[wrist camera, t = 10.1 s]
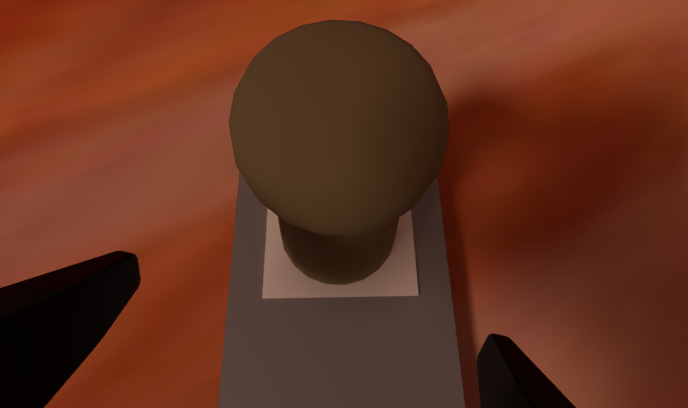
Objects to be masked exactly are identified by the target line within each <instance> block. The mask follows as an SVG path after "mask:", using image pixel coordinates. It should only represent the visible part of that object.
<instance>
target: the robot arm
mask: <svg viewBox="0 0 688 408" xmlns="http://www.w3.org/2000/svg"><path fill="white" fill-rule="evenodd" d="M140 280H141V277H140V271H139V264H138V258H137V256H136V255H135V254H133V253H129V252H125V251H115V252H112V253H109V254H106V255H102V256H99V257H96V258H93V259H90V260H87V261H84V262H81V263H77V264H74V265H71V266H68V267H65V268H62V269H59V270H55V271H52V272H49V273H46V274H43V275H40V276H37V277H34V278H30V279H27V280H24V281H21V282H18V283H15V284H12V285H8V286H5V287H2V288H0V408H44V407H45V406H46V405H47V403H48V402H49V401H50V400H51V399H52V398H53V396H54V395H55V394H56V393H57V392H58V391H59V389H60V388H61V387H62V386H63V385H64V383H65V382H66V381H67V380H68V379H69V378H70V376H71V375H72V374H73V373H74V372H75V371H76V369H77V368H78V367H79V366H80V365H81V364H82V362H83V361H84V360H85V359H86V358H87V356H88V355H89V354H90V353H91V352H92V351H93V349H94V348H95V347H96V346H97V344H98V343H99V342H100V341H101V339H102V338H103V337H104V335H105V334H106V333H107V331H108V330H109V328H110V327H111V326H112V324H113V323H114V321H115V320H116V318H117V317H118V316H119V314H120V313H121V311H122V310H123V309H124V307H125V306H126V304H127V303H128V301H129V300H130V299H131V297H132V296H133V294H134V293H135V292H136V290H137V289H138V287H139V284H140ZM477 374H478V384H479V394H480V404H481V408H576V407H575V406H574V405H573V404H572V403H571V402H570V401H569V400H568V399H567V398H566V397H565V396H564V395H563V394H562V393H561V391H560V390H559V389H558V388H557V387H556V386H555V385H554V384H553V383H552V382H551V381H550V380H549V379H548V378H547V377H546V376H545V375H544V374H543V373H542V371H541V370H540V369H539V368H538V367H537V366H536V365H535V364H534V363H533V362H532V361H531V360H530V359H529V358H528V357H527V356H526V355H525V354H524V353H523V351H522V350H521V349H520V348H519V347H518V346H517V345H516V344H515V343H514V342H513V341H512V340H511V339H510V338H509V337H507V336H503V335H498V334H494V333H493V334H490V335H488V337H487V339H486V341H485V343H484V345H483V346H482V348H481V350H480V352H479V354H478V357H477Z"/></svg>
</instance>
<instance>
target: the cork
mask: <svg viewBox="0 0 688 408" xmlns="http://www.w3.org/2000/svg"><path fill="white" fill-rule="evenodd" d="M229 127H230V135H231V140H232V146H233V151H234V156H235V161H236V166H237V168H238V169H239V171H240V172H241V174H242V176H243V177H244V179H245V180H246V182H247V184H248V185H249V187H250V189H251V190H252V192H253V193H254V195H255V196H256V197H257V199H258V200H259V201H260V202H261V203H262V204H263V205H264V206H266V207H267V208H268V209H269V210H271V211H272V212H273V213H274V214H276V215H277V216H278V221H279V228H280V234H281V238H282V242H283V247H284V250H285V252H286V254H287V255H288V257H289V258H290V260H291V262H292V263H293V265H294V266H295V267H296V268H298V269H299V270H300V271H301V272H302V273H304V274H305V275H306V276H307V277H309V278H311V279H314V280H317V281H319V282H322V283H324V284H334V285H347V284H350V283H354V282H357V281H361V280H364V279H365V278H367V277H368V276H370V275H371V274H373V273H374V272H376V271H377V270H378V269H380V267H381V266H382V265H383V263H384V262H385V261H386V259H387V258H388V257H389V255H390V253H391V250H392V247H393V244H394V241H395V238H396V233H397V228H398V222H399V217H401V216H402V215H404V214H405V213H407V212H408V211H410V210H411V209H413V207H414V206H415V205H416V204H417V202H418V201H419V200H420V198H421V197H422V196H423V194H424V193H425V192H426V190H427V189H428V188H429V186H430V185H431V184H432V183H433V181H434V180H435V179H436V177H437V176H438V174H439V171H440V168H441V164H442V161H443V158H444V154H445V151H446V148H447V143H448V137H449V123H448V109H447V102H446V99H445V97H444V95H443V93H442V90H441V88H440V86H439V84H438V81H437V79H436V77H435V75H434V73H433V70H432V68H431V66H430V65H429V63H428V62H427V61H426V60H425V59H424V58H423V57H422V56H421V55H420V54H419V52H418V51H417V50H416V49H415V48H414V47H413V46H412V45H411V44H409V43H408V42H406V41H405V40H403V39H401V38H400V37H398V36H396V35H395V34H393V33H391V32H390V31H388V30H386V29H383V28H379V27H376V26H373V25H369V24H366V23H363V22H359V21H341V20H327V21H322V22H317V23H312V24H307V25H302V26H299V27H297V28H295V29H293V30H291V31H289V32H287V33H285V34H282V35H280V36H278V37H276V38H274V39H273V40H272V41H271V42H270V43H269V44H268V45H267V46H266V47H264V48H263V49H262V50H261V51H260V52H259V53H258V54H257V55H256V56H254V58H253V59H252V61H251V63H250V64H249V66H248V68H247V70H246V71H245V73H244V75H243V77H242V78H241V80H240V82H239V84H238V86H237V88H236V90H235V92H234V96H233V102H232V107H231V113H230V119H229Z"/></svg>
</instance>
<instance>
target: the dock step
mask: <svg viewBox="0 0 688 408" xmlns="http://www.w3.org/2000/svg"><path fill="white" fill-rule="evenodd" d="M218 408H465V401H464V393H463V384H462V376H461V368H460V359H459V351H458V343H457V334H456V326H455V318H454V310H453V301H452V293H451V285H450V276H449V268H448V260H447V251H446V243H445V235H444V227H443V218H442V210H441V202H440V193H439V185H438V177H436V179H435V180H434V181H433V183H432V184H431V185H430V186H429V188H428V189H427V190H426V192H425V193H424V194H423V196H422V197H421V198H420V200H419V201H418V202H417V204H416V205H415V206H414V207H413V209H411V210H410V211H408V212H407V213H405V214H404V215H402V216H401V217H399V222H398V228H397V233H396V238H395V241H394V244H393V247H392V250H391V253H390V255H389V257H388V258H387V259H386V261H385V262H384V263H383V265H382V266H381V267H380V269H378V270H377V271H376V272H374V273H373V274H371V275H370V276H368V277H367V278H365V279H364V280H361V281H357V282H354V283H350V284H347V285H334V284H324V283H322V282H319V281H317V280H314V279H311V278H309V277H307V276H306V275H305V274H304V273H302V272H301V271H300V270H299V269H298V268H296V267H295V266H294V265H293V263H292V262H291V260H290V258H289V257H288V255H287V254H286V252H285V250H284V247H283V242H282V238H281V234H280V228H279V221H278V216H277V215H276V214H274V213H273V212H272V211H271V210H269V209H268V208H267V207H266V206H264V205H263V204H262V203H261V202H260V201H259V200H258V199H257V197H256V196H255V195H254V193H253V192H252V190H251V189H250V187H249V185H248V184H247V182H246V180H245V179H244V177H243V176H242V174H241V172H240V174H239V185H238V196H237V207H236V218H235V228H234V239H233V250H232V261H231V272H230V283H229V294H228V305H227V315H226V326H225V337H224V348H223V359H222V370H221V381H220V392H219V403H218Z"/></svg>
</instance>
